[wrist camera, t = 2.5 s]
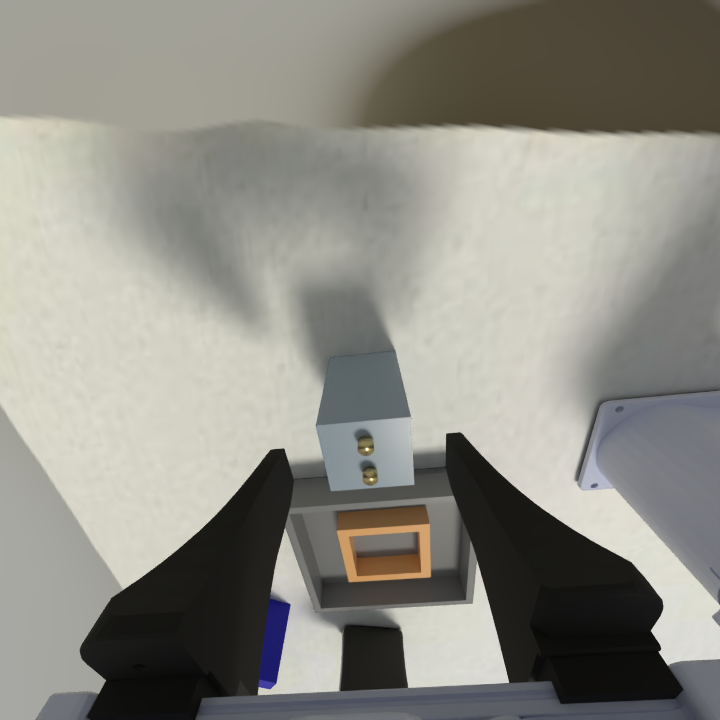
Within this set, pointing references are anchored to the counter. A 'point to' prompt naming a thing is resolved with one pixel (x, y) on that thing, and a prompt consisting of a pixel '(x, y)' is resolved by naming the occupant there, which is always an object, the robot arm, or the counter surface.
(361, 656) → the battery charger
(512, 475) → the counter surface
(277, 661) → the cable clip
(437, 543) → the box
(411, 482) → the connector plug
